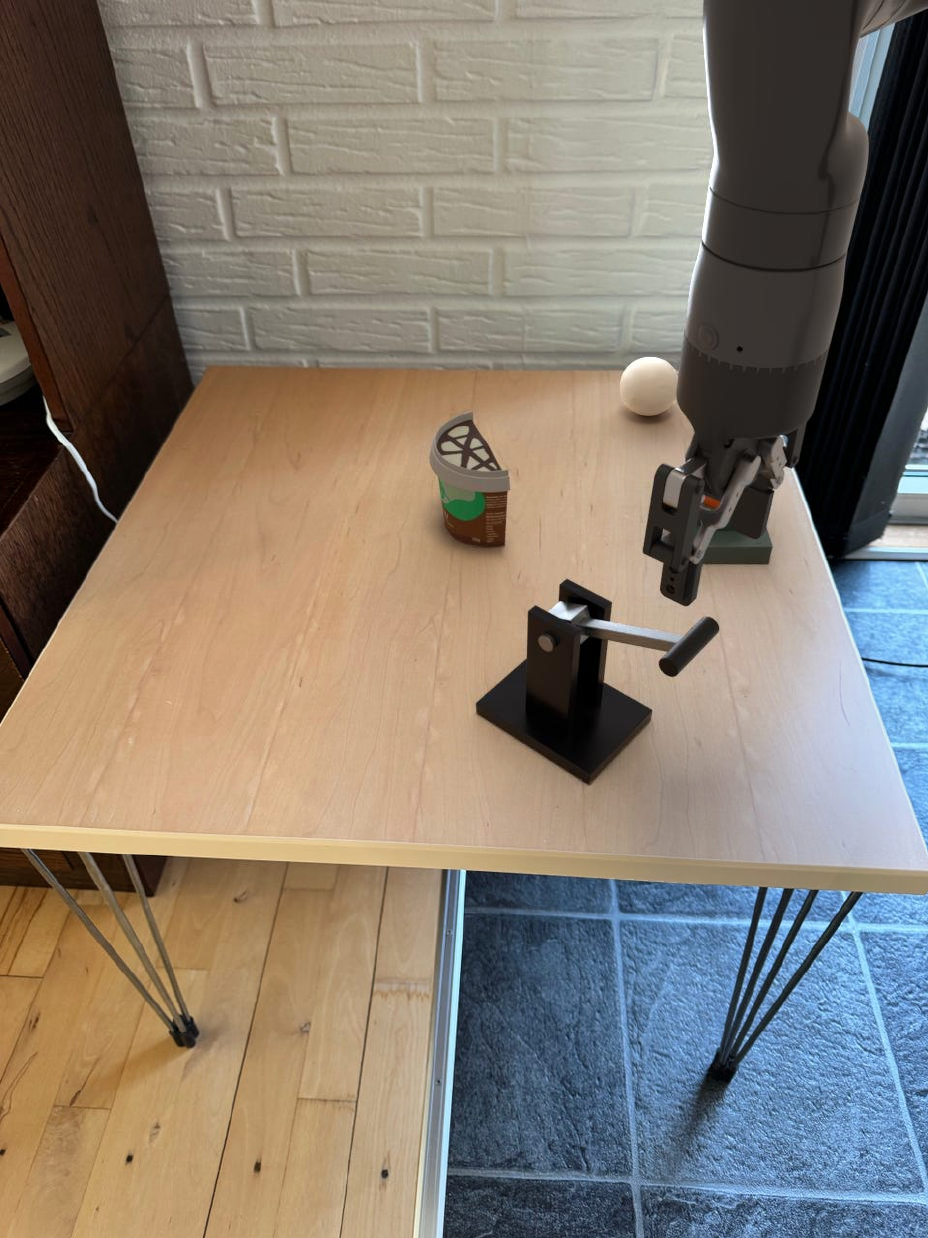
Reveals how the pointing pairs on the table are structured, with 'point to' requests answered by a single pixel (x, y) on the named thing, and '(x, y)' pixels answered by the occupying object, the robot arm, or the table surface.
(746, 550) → the button box
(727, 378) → the robot arm
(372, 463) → the table surface
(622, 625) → the lever
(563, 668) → the bracket
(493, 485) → the food container
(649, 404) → the cream ball
